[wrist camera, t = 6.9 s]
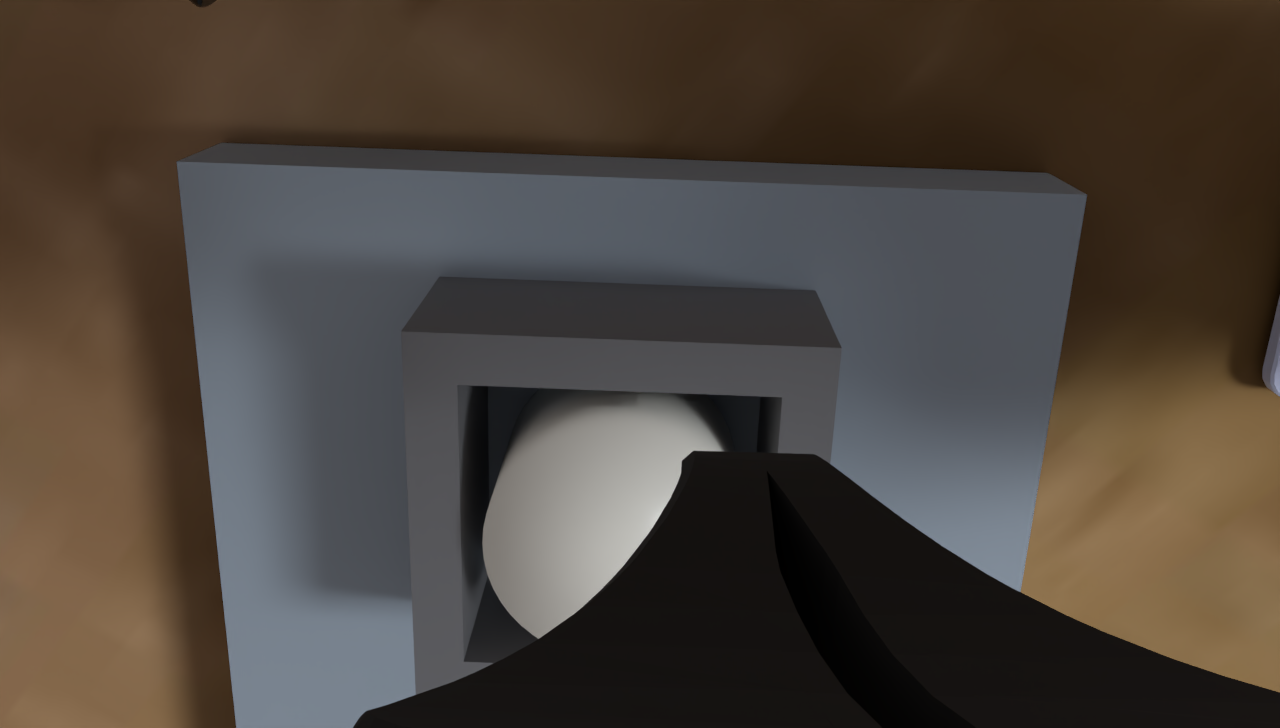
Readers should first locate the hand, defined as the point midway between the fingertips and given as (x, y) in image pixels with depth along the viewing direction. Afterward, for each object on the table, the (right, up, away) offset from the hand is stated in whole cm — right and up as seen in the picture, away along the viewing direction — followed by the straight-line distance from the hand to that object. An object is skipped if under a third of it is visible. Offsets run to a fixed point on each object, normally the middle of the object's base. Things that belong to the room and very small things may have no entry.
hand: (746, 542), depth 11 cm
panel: (-1, -4, +12) cm, 13 cm away
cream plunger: (-1, 0, +8) cm, 9 cm away
